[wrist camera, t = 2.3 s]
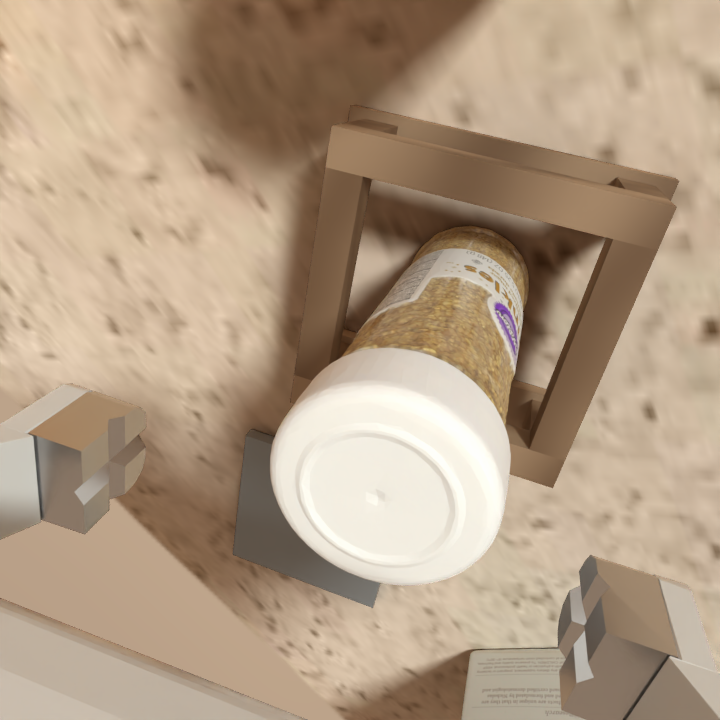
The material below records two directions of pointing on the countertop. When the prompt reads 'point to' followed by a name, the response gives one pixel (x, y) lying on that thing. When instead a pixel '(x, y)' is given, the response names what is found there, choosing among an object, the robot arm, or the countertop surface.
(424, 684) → the countertop surface
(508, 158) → the square frame stand
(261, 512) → the slate coaster
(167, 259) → the countertop surface
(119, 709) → the robot arm
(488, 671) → the supplement box
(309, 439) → the sprinkles bottle
